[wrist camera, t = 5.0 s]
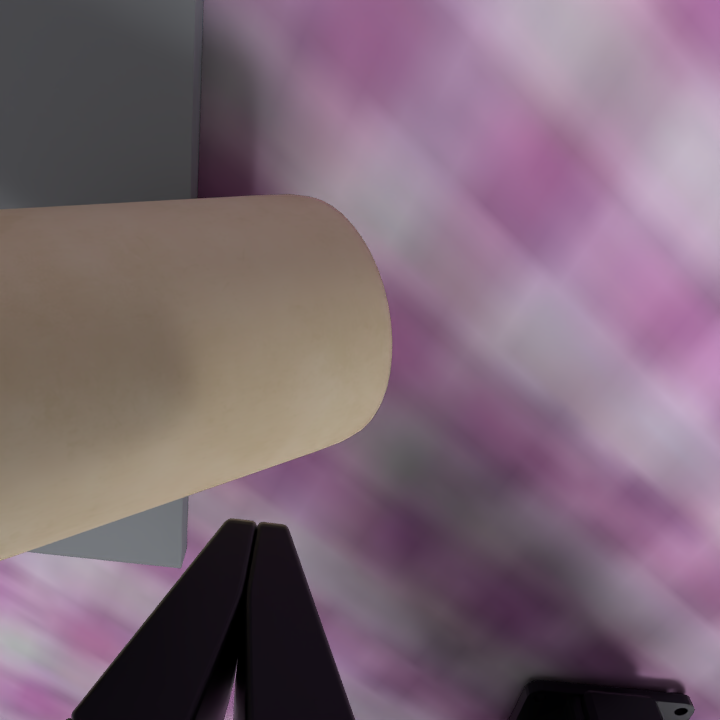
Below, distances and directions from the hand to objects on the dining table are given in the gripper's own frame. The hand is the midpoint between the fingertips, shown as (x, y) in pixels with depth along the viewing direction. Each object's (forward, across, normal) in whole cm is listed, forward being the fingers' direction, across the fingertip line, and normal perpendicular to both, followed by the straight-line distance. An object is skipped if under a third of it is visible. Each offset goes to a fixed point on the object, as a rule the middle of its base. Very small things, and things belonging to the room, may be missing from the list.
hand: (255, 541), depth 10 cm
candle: (+7, -1, 0) cm, 7 cm away
